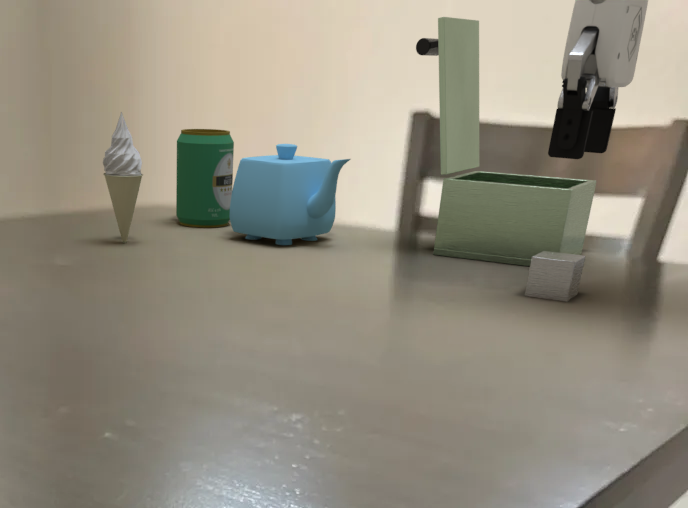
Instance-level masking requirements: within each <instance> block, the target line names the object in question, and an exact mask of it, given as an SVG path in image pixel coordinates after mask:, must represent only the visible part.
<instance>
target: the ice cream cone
mask: <svg viewBox="0 0 688 508" xmlns="http://www.w3.org/2000/svg"><path fill="white" fill-rule="evenodd" d="M113 131H114V132H113V133H112V135H111V143H110V147H108V148H107V150H105V151H104V157H103V159H102V165H103V167H104V168H103V170H104V173H103V174H102V175H103V176H104V178H105V179H104V180H105V182H106V186H107V189H108V193H109V198H110V200H111V205H112V208H113V212H114V216H115V220H116V223H117V226H118V231H119V234H120V238H121V242H122V243H123V244H127V242H128V238H129V233H130V230H131V226H132V221H133V217H134V212H135V208H136V205H137V204H136V203H137V200H138V195H139V191H140V186H141V182H142V178H143V176H144V174H143V173H142V165H143V161H142V157H141V155H140V151H138V149H136V147H135V146H134V141H133V136H132V134H131V131H130V130H129V127H128V124H127V122H126V120H125V117H124V114H123V111H120V115H119V118H118V121H117V124H116V127H115V129H114V130H113Z"/></svg>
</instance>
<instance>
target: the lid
mask: <svg viewBox="0 0 688 508" xmlns="http://www.w3.org/2000/svg"><path fill="white" fill-rule="evenodd" d="M415 51H416V53H417V54H418V55H419V56H429V57H430V56H431V57H433V56H435V57H437V56H438V93H439V94H438V95H439V96H438V97H439V99H438V101H439V151H440V152H439V153H440V155H439V156H440V175H441V176H444V175H445V176H446V175H450V174H454V173H458V172H462V171H467V170H471V169H475V168H480V20H476V19H467V18H460V17H459V18H458V17H451V16H441V17H438V18H437V38H431V37H430V38H429V37H422V38H420V39H418V41H417V42H416V45H415Z"/></svg>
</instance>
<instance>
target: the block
mask: <svg viewBox="0 0 688 508" xmlns="http://www.w3.org/2000/svg"><path fill="white" fill-rule="evenodd" d="M585 260H586V255H583V254H581V255H575V254H566V253H557V252H549V251H542V252H541V253H539V254H537V255H535V256H533V257H532V258H531V264H530V266H529V270H528V275H527V280H526V286H525V291H524V297H530V298H536V299H537V298H538V299H544V300H553V301H560V302H565V303H567V302H569V301H570V300H572V299H573V298H575V297H576V296H577V295H578V293H579V290H580V289H579V288H580V284H581V279H582V275H583V269H584V265H585Z"/></svg>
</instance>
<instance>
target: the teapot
mask: <svg viewBox="0 0 688 508" xmlns="http://www.w3.org/2000/svg"><path fill="white" fill-rule="evenodd" d="M275 149H276V153H277V154H271V155H259V156H258V155H257V156H247V157H242V158H241V159H240V160H239V163H238V166H237V170H236V173H235V174H236V175H235V178H234V180H233V181H234V182H233V184H232V195H231V203H230V215H229V216H230V220H229V222H230V225H231V228H232V231H233V232H234V233H238V234H243V235H246V236H245V237H244V239H245V240H251V241H253V240H262V239H263V238H266V239H272V240H275V243H274V244H275V245H279V246H291V245H293V240H296V239H300V240H302V241H306V242H307V241H308V242H309V241H310V242H315V241H318V238H317V236H321V235H324V234H328V233H331V230H332V228H333V225H334V223H335V219H336V207H337V206H336V204H337V203H336V202H337V201H336V199H337V197H336V193H337V187H338V180H339V175H340V172H341V170H342V168H343V167H344V166H345V165H346V164H347V163H348V162H349V161H351V160H352V158H345V159H334V160H333V161H331V160H330V159H329V158H321V157H314V156H313V157H311V156H304V155H296V152H297V149H298V145H297V144H295V143H294V144H293V143H278V144H276V145H275Z"/></svg>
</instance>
